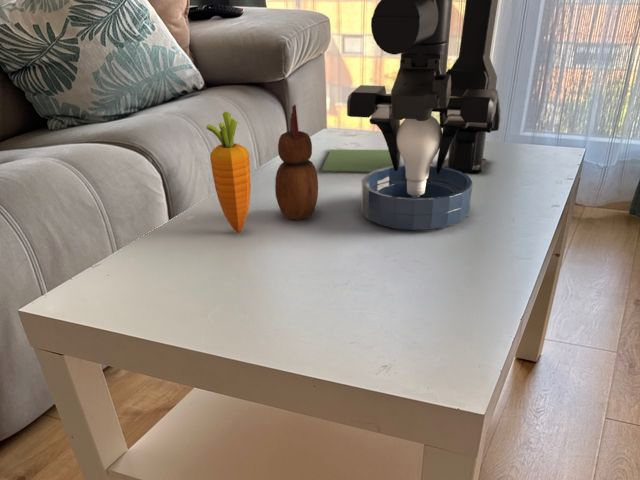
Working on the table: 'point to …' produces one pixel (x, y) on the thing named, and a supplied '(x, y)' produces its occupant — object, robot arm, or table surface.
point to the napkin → (357, 160)
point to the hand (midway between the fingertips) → (416, 171)
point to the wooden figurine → (296, 173)
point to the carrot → (231, 173)
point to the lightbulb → (418, 151)
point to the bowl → (416, 213)
